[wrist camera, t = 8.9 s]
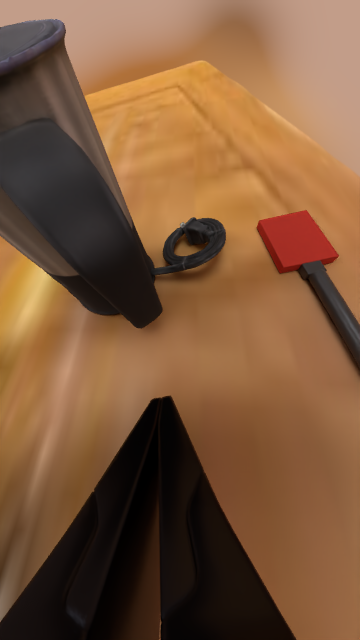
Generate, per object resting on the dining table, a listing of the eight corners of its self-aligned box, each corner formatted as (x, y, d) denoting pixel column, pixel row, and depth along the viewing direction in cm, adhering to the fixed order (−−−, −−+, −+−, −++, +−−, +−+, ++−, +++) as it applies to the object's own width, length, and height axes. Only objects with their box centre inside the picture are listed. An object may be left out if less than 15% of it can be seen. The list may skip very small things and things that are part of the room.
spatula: (433, 411, 13) (459, 413, 11) (356, 425, 13) (373, 429, 11) (302, 217, 21) (308, 206, 20) (256, 227, 21) (260, 217, 20)
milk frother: (62, 292, 21) (-210, 91, 7) (143, 208, 25) (74, -17, 11) (158, 357, 16) (-51, 173, 3) (236, 243, 21) (307, -52, 7)
